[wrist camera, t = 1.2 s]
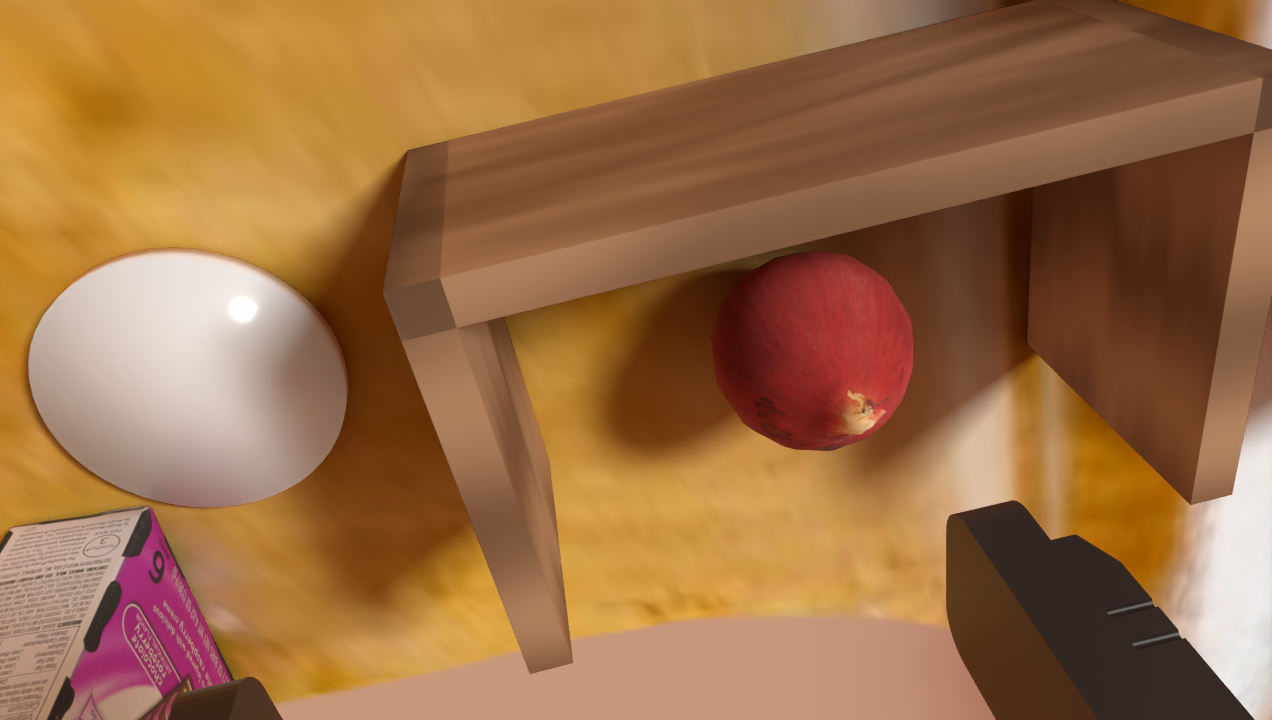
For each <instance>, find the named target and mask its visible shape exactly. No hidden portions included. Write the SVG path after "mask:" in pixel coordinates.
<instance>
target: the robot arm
mask: <svg viewBox="0 0 1272 720" xmlns="http://www.w3.org/2000/svg"><path fill="white" fill-rule="evenodd" d="M946 607H947V616H948V621H949V625H950V629H951V633H952V636H953V639H954V642H955V645H956V647H957V649H958V652H959V654H960V656H961V658H962V660H963V662H964V664H965V666H966V668H967V669H968V671H969V673H970V675H971V676H972V678H973V680H974V682H975V684H976V685H977V687H978V689H979V691H980V692H981V694H982V696H983V698H984V699H985V701H986V703H987V705H988V706H989V708H990V710H991V712H992V714H993V715H994V717H995V719H996V720H1254V718H1253V717H1252V716H1251V715H1250V714H1249V713H1248V711H1247V710H1246V709H1245V708H1244V707H1243V705H1242V704H1241V703H1240V702H1239V701H1238V700H1237V698H1236V697H1235V696H1234V695H1233V694H1232V693H1231V691H1230V690H1229V689H1228V688H1227V687H1226V685H1225V684H1224V683H1223V682H1222V681H1221V680H1220V678H1219V677H1218V676H1217V675H1216V674H1215V673H1214V671H1213V670H1212V669H1211V668H1210V667H1209V665H1208V664H1207V663H1206V662H1205V661H1204V660H1203V658H1202V657H1201V656H1200V655H1199V654H1198V653H1197V651H1196V650H1195V649H1194V648H1193V647H1192V645H1191V644H1190V643H1189V642H1188V641H1187V640H1186V638H1184V639H1182V638H1181V637H1180V635H1179V632H1178V629H1177V628H1176V627H1175V625H1174V624H1173V623H1172V622H1171V621H1170V620H1169V618H1168V617H1167V616H1166V615H1165V614H1164V613H1163V611H1162V610H1161V609H1160V608H1159V607H1155V606H1154V605H1153V602H1152V598H1151V597H1150V596H1149V595H1148V594H1147V593H1146V591H1145V590H1144V589H1143V588H1142V587H1141V585H1140V584H1139V583H1138V582H1137V581H1136V580H1135V578H1134V577H1133V576H1132V575H1131V574H1130V573H1129V571H1128V570H1127V569H1126V568H1125V567H1124V565H1123V564H1122V563H1121V562H1120V561H1118V560H1116V559H1115V558H1113V557H1112V556H1110V555H1108V554H1107V553H1105V552H1103V551H1102V550H1100V549H1099V548H1097V547H1095V546H1094V545H1092V544H1090V543H1089V542H1087V541H1086V540H1084V539H1082V538H1081V537H1079V536H1077V535H1076V534H1075V535H1071V536H1067V537H1062V538H1058V539H1054V540H1050V538H1049V537H1048V536H1047V535H1046V533H1045V532H1044V531H1043V529H1042V528H1041V527H1040V526H1039V524H1038V523H1037V522H1036V520H1035V519H1034V518H1033V517H1032V515H1031V514H1030V513H1029V512H1028V510H1027V509H1026V508H1025V507H1024V506H1023V505H1022V504H1021V503H1019V502H1017V501H1014V500H1012V501H1008V502H1004V503H999V504H995V505H991V506H987V507H982V508H978V509H974V510H969V511H965V512H961V513H957V514H952V515H950V516H949V518H948V520H947V528H946ZM168 720H283V719H282V718H281V716H280V714H279V713H278V711H277V709H276V707H275V706H274V704H273V702H272V700H271V699H270V697H269V695H268V694H267V692H266V690H265V688H264V687H263V685H262V684H261V683H260V682H259V681H258V680H257V679H256V678H254V677H247V678H243V679H238V680H234V681H230V682H226V683H221V684H217V685H213V686H209V687H204V688H200V689H196V690H192V691H187V692H184V693H182V694H181V695H180V696H179V697H178V698H177V699H176V701H175V702H174V704H173V707H172V709H171V712H170V715H169V717H168Z"/></svg>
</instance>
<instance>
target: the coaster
mask: <svg viewBox="0 0 1272 720" xmlns="http://www.w3.org/2000/svg"><path fill="white" fill-rule="evenodd" d="M28 369H29V382H30V386H31V391H32V395H33V398H34V401H35V404H36V406H37V409H38V411H39V413H40V415H41V417H42V419H43V420H44V422H45V424H46V426H47V427H48V429H49V430H50V432H51V433H52V434H53V436H54V437H55V438H56V439H57V441H58V442H59V443H60V444H61V445H62V446H63V447H64V448H65V449H66V451H67V452H68V453H69V454H70V455H71V456H72V457H74V458H75V459H76V460H77V461H78V462H80V463H81V464H82V465H83V466H85V467H86V468H87V469H88V470H90V471H92V472H93V473H95V474H96V475H98V476H99V477H101V478H102V479H104V480H106V481H108V482H110V483H112V484H113V485H115V486H117V487H119V488H121V489H124V490H126V491H129V492H131V493H134V494H136V495H139V496H142V497H145V498H148V499H152V500H155V501H159V502H163V503H169V504H174V505H179V506H189V507H227V506H237V505H242V504H247V503H252V502H256V501H259V500H262V499H265V498H269V497H271V496H274V495H276V494H278V493H280V492H283V491H285V490H287V489H289V488H290V487H292V486H294V485H295V484H297V483H299V482H300V481H302V480H303V479H304V478H305V477H307V476H308V475H309V474H311V473H312V472H313V471H314V470H315V469H316V468H317V467H318V466H319V465H320V464H321V463H322V462H323V461H324V459H325V458H326V456H327V455H328V454H329V452H330V451H331V449H332V448H333V446H334V444H335V442H336V440H337V438H338V436H339V433H340V430H341V427H342V424H343V420H344V416H345V411H346V406H347V398H348V373H347V368H346V362H345V359H344V356H343V353H342V350H341V347H340V345H339V343H338V341H337V339H336V337H335V335H334V333H333V331H332V329H331V328H330V326H329V325H328V323H327V322H326V321H325V319H324V318H323V316H322V315H321V314H320V313H319V312H318V310H317V309H316V308H315V307H314V306H313V305H312V304H311V303H310V302H309V301H308V300H307V299H306V298H305V297H304V296H303V295H301V294H300V293H299V292H298V291H297V290H296V289H294V288H293V287H292V286H290V285H289V284H287V283H286V282H284V281H283V280H282V279H280V278H279V277H277V276H275V275H273V274H272V273H270V272H268V271H266V270H264V269H262V268H260V267H258V266H256V265H254V264H251V263H249V262H246V261H244V260H241V259H239V258H235V257H232V256H228V255H225V254H221V253H218V252H212V251H206V250H200V249H193V248H176V247H171V248H153V249H146V250H141V251H135V252H130V253H127V254H124V255H120V256H117V257H114V258H111V259H109V260H107V261H104V262H102V263H100V264H98V265H96V266H94V267H92V268H91V269H89V270H88V271H86V272H85V273H83V274H82V275H80V276H79V277H77V278H76V279H75V280H74V281H73V282H72V283H71V284H70V285H69V286H67V287H66V288H65V289H64V290H63V292H62V293H61V294H60V295H59V296H58V298H57V299H56V300H55V301H54V303H53V304H52V305H51V306H50V308H49V309H48V310H47V311H46V313H45V314H44V315H43V317H42V319H41V321H40V323H39V325H38V327H37V328H36V330H35V333H34V336H33V340H32V343H31V346H30V353H29V361H28Z"/></svg>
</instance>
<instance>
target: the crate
mask: <svg viewBox="0 0 1272 720" xmlns="http://www.w3.org/2000/svg"><path fill="white" fill-rule="evenodd" d="M1030 187H1033V202H1032V228H1031V253H1030V279H1029V304H1028V329H1027V344H1028V345H1029V346H1030V347H1031V348H1032V349H1033V350H1034V351H1035V352H1036V353H1037V354H1038V355H1039V356H1040V357H1041V358H1042V359H1043V360H1044V361H1045V362H1046V363H1047V364H1048V365H1049V366H1050V367H1051V368H1052V369H1053V370H1054V371H1055V372H1056V373H1057V374H1058V375H1059V376H1060V377H1061V378H1062V379H1063V380H1064V381H1065V382H1066V383H1067V384H1068V385H1069V386H1070V387H1071V388H1072V389H1073V390H1074V391H1075V392H1076V393H1077V394H1078V395H1079V396H1080V397H1081V398H1082V399H1084V400H1085V401H1086V402H1087V403H1088V404H1089V405H1090V406H1091V407H1092V408H1093V409H1094V410H1095V411H1096V412H1097V413H1098V414H1099V415H1100V416H1101V417H1102V418H1103V419H1104V420H1105V421H1106V422H1107V423H1108V424H1109V425H1110V426H1111V427H1112V428H1113V429H1114V430H1115V431H1116V432H1117V433H1118V434H1119V435H1120V436H1121V437H1122V438H1123V439H1124V440H1125V441H1126V442H1127V443H1128V444H1129V445H1130V446H1131V447H1132V448H1133V449H1134V450H1135V451H1136V452H1137V453H1138V454H1139V455H1140V456H1141V457H1142V458H1143V459H1144V460H1145V461H1146V462H1148V463H1149V464H1150V465H1151V466H1152V467H1153V468H1154V469H1155V470H1156V471H1157V472H1158V473H1159V474H1160V475H1161V476H1162V477H1163V478H1164V479H1165V480H1166V481H1167V482H1168V483H1169V484H1170V485H1171V486H1172V487H1173V488H1174V489H1175V490H1176V491H1177V492H1178V493H1179V494H1180V495H1181V496H1182V497H1183V498H1184V499H1185V500H1186V501H1187V502H1188V503H1189V504H1190V505H1193V504H1197V503H1201V502H1204V501H1208V500H1212V499H1216V498H1220V497H1224V496H1228V495H1232V492H1233V487H1234V482H1235V477H1236V472H1237V467H1238V462H1239V457H1240V452H1241V447H1242V442H1243V437H1244V432H1245V427H1246V422H1247V417H1248V412H1249V407H1250V402H1251V397H1252V392H1253V387H1254V382H1255V377H1256V372H1257V367H1258V362H1259V357H1260V352H1261V347H1262V342H1263V337H1264V332H1265V327H1266V322H1267V317H1268V312H1269V307H1270V302H1271V297H1272V50H1271V49H1268V48H1265V47H1262V46H1258V45H1255V44H1252V43H1249V42H1246V41H1243V40H1239V39H1236V38H1233V37H1230V36H1227V35H1224V34H1220V33H1217V32H1214V31H1211V30H1208V29H1205V28H1201V27H1198V26H1195V25H1192V24H1189V23H1186V22H1182V21H1179V20H1176V19H1173V18H1170V17H1166V16H1163V15H1160V14H1157V13H1154V12H1151V11H1147V10H1144V9H1141V8H1138V7H1135V6H1132V5H1128V4H1125V3H1122V2H1119V1H1116V0H1033V1H1029V2H1025V3H1021V4H1016V5H1012V6H1008V7H1004V8H1000V9H996V10H991V11H987V12H983V13H979V14H975V15H971V16H966V17H962V18H958V19H954V20H950V21H946V22H941V23H937V24H933V25H929V26H925V27H921V28H916V29H912V30H908V31H904V32H900V33H895V34H891V35H887V36H883V37H879V38H875V39H870V40H866V41H862V42H858V43H854V44H850V45H845V46H841V47H837V48H833V49H829V50H825V51H820V52H816V53H812V54H808V55H804V56H800V57H795V58H791V59H787V60H783V61H779V62H775V63H770V64H766V65H762V66H758V67H754V68H749V69H745V70H741V71H737V72H733V73H729V74H724V75H720V76H716V77H712V78H708V79H704V80H699V81H695V82H691V83H687V84H683V85H679V86H674V87H670V88H666V89H662V90H658V91H654V92H649V93H645V94H641V95H637V96H633V97H629V98H624V99H620V100H616V101H612V102H608V103H603V104H599V105H595V106H591V107H587V108H583V109H578V110H574V111H570V112H566V113H562V114H558V115H553V116H549V117H545V118H541V119H537V120H533V121H528V122H524V123H520V124H516V125H512V126H508V127H503V128H499V129H495V130H491V131H487V132H482V133H478V134H474V135H470V136H466V137H462V138H457V139H453V140H449V141H445V142H441V143H437V144H432V145H428V146H424V147H420V148H416V149H412V150H408V152H407V158H406V164H405V169H404V175H403V180H402V186H401V191H400V197H399V202H398V208H397V213H396V219H395V225H394V230H393V236H392V241H391V247H390V252H389V258H388V263H387V269H386V274H385V280H384V286H383V291H382V293H383V295H384V298H385V301H386V303H387V306H388V308H389V311H390V314H391V316H392V319H393V321H394V324H395V326H396V329H397V332H398V334H399V337H400V339H401V342H402V345H403V347H404V350H405V352H406V355H407V357H408V360H409V363H410V365H411V368H412V370H413V373H414V376H415V378H416V381H417V383H418V386H419V388H420V391H421V394H422V396H423V399H424V401H425V404H426V407H427V409H428V412H429V414H430V417H431V419H432V422H433V425H434V427H435V430H436V432H437V435H438V438H439V440H440V443H441V445H442V448H443V450H444V453H445V456H446V458H447V461H448V463H449V466H450V469H451V471H452V474H453V476H454V479H455V482H456V484H457V487H458V489H459V492H460V494H461V497H462V500H463V502H464V505H465V507H466V510H467V513H468V515H469V518H470V520H471V523H472V525H473V528H474V531H475V533H476V536H477V538H478V541H479V544H480V546H481V549H482V551H483V554H484V556H485V559H486V562H487V564H488V567H489V569H490V572H491V575H492V577H493V580H494V582H495V585H496V587H497V590H498V593H499V595H500V598H501V600H502V603H503V606H504V608H505V611H506V613H507V616H508V618H509V621H510V624H511V626H512V629H513V631H514V634H515V637H516V639H517V642H518V644H519V647H520V649H521V652H522V654H523V657H524V660H525V662H526V665H527V668H528V670H529V672H530V674H531V673H535V672H540V671H543V670H547V669H551V668H555V667H559V666H563V665H567V664H570V663H573V660H572V651H571V642H570V634H569V625H568V617H567V608H566V600H565V591H564V582H563V574H562V565H561V557H560V548H559V540H558V531H557V523H556V514H555V506H554V497H553V488H552V480H551V471H550V463H549V460H548V457H547V453H546V450H545V447H544V444H543V440H542V437H541V434H540V431H539V428H538V424H537V421H536V418H535V415H534V412H533V408H532V405H531V402H530V399H529V396H528V392H527V389H526V386H525V383H524V380H523V376H522V373H521V370H520V367H519V364H518V360H517V357H516V354H515V351H514V347H513V344H512V341H511V338H510V335H509V331H508V328H507V325H506V322H505V319H504V316H508V315H512V314H516V313H520V312H524V311H528V310H532V309H537V308H541V307H545V306H549V305H553V304H557V303H561V302H565V301H569V300H573V299H577V298H581V297H586V296H590V295H594V294H598V293H602V292H606V291H610V290H614V289H618V288H622V287H626V286H630V285H634V284H639V283H643V282H647V281H651V280H655V279H659V278H663V277H667V276H671V275H675V274H679V273H683V272H687V271H692V270H696V269H700V268H704V267H708V266H712V265H716V264H720V263H724V262H728V261H732V260H736V259H741V258H745V257H749V256H753V255H757V254H761V253H765V252H769V251H773V250H777V249H781V248H785V247H789V246H794V245H798V244H802V243H806V242H810V241H814V240H818V239H822V238H826V237H830V236H834V235H838V234H842V233H847V232H851V231H855V230H859V229H863V228H867V227H871V226H875V225H879V224H883V223H887V222H891V221H896V220H900V219H904V218H908V217H912V216H916V215H920V214H924V213H928V212H932V211H936V210H940V209H944V208H949V207H953V206H957V205H961V204H965V203H969V202H973V201H977V200H981V199H985V198H989V197H993V196H997V195H1002V194H1006V193H1010V192H1014V191H1018V190H1022V189H1026V188H1030Z"/></svg>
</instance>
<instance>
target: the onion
mask: <svg viewBox="0 0 1272 720" xmlns="http://www.w3.org/2000/svg"><path fill="white" fill-rule="evenodd" d="M711 338H712V348H713V357H714V367H715V373H716V380H717V384H718V386H719V387H720V389H721V390H722V392H723V393H724V395H725V396H726V398H727V399H728V401H729V402H730V404H731V405H732V407H733V409H734V410H735V411H736V413H737V414H738V416H739V417H740V419H741V420H742V422H743V423H744V424H745V425H747V426H748V427H750V428H751V429H752V430H754V431H755V432H757V433H759V434H761V435H763V436H765V437H767V438H769V439H771V440H773V441H775V442H777V443H779V444H780V445H782V446H785V447H788V448H792V449H798V450H818V451H831V450H836V449H838V448H841V447H843V446H846V445H849V444H852V443H854V442H857V441H860V440H862V439H865V438H866V437H868V436H869V435H871V434H872V433H873V432H875V431H876V430H877V429H879V428H880V427H882V426H883V425H884V424H885V423H886V422H887V421H888V419H889V418H890V417H891V415H892V414H893V413H894V411H895V410H896V409H897V407H898V406H899V405H900V403H901V402H902V400H903V398H904V395H905V392H906V389H907V386H908V383H909V380H910V377H911V374H912V370H913V331H912V323H911V319H910V317H909V315H908V314H907V312H906V310H905V309H904V307H903V305H902V304H901V302H900V300H899V299H898V297H897V295H896V294H895V292H894V291H893V289H892V287H891V286H890V284H889V282H888V281H887V280H886V279H885V278H884V277H882V276H881V275H880V274H878V273H877V272H876V271H875V270H873V269H871V268H870V267H868V266H866V265H865V264H863V263H861V262H859V261H858V260H856V259H854V258H853V257H851V256H849V255H846V254H838V253H830V252H823V251H815V250H813V251H805V252H800V253H796V254H791V255H786V256H781V257H777V258H774V259H772V260H771V261H769V262H767V263H765V264H764V265H762V266H760V267H758V268H756V269H755V270H753V271H751V272H749V273H748V274H746V275H745V276H743V277H742V279H741V280H740V281H739V283H738V284H737V285H736V287H735V288H734V289H733V291H732V292H731V293H730V294H729V295H728V297H727V298H726V299H725V301H724V302H723V304H722V305H721V307H720V310H719V313H718V317H717V320H716V323H715V327H714V330H713V333H712V337H711Z"/></svg>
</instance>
